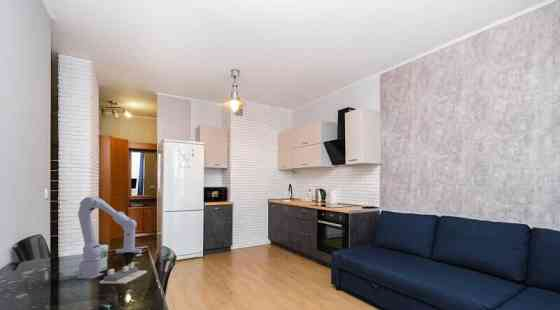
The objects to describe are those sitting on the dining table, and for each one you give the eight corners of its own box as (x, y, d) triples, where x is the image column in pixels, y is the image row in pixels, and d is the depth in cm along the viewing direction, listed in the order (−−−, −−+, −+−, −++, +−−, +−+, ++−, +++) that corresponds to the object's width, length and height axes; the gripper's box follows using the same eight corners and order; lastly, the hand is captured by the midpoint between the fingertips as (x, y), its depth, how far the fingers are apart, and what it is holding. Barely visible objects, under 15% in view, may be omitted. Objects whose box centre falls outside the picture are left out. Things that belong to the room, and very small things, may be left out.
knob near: (107, 275, 145) (107, 270, 145) (111, 273, 147) (111, 268, 148) (110, 275, 144) (110, 270, 145) (114, 273, 147) (114, 268, 147)
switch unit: (99, 283, 142) (99, 277, 143) (124, 272, 161) (124, 266, 161) (124, 283, 141) (125, 277, 141) (146, 272, 160) (147, 266, 160)
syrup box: (99, 271, 163) (101, 246, 165) (91, 271, 164) (92, 246, 166) (107, 269, 169) (108, 244, 171) (99, 268, 170) (100, 244, 172)
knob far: (128, 268, 156) (128, 264, 156) (131, 267, 159) (131, 262, 159) (130, 268, 156) (131, 264, 156) (134, 267, 159) (134, 262, 159)
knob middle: (122, 271, 150) (122, 267, 150) (126, 270, 153) (126, 265, 153) (125, 271, 150) (125, 267, 150) (128, 270, 153) (128, 265, 153)
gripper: (112, 242, 156) (111, 267, 155) (136, 242, 155) (135, 268, 153) (121, 240, 163) (120, 264, 161) (144, 240, 162) (143, 264, 160)
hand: (128, 266), depth 158 cm, fingers closed
